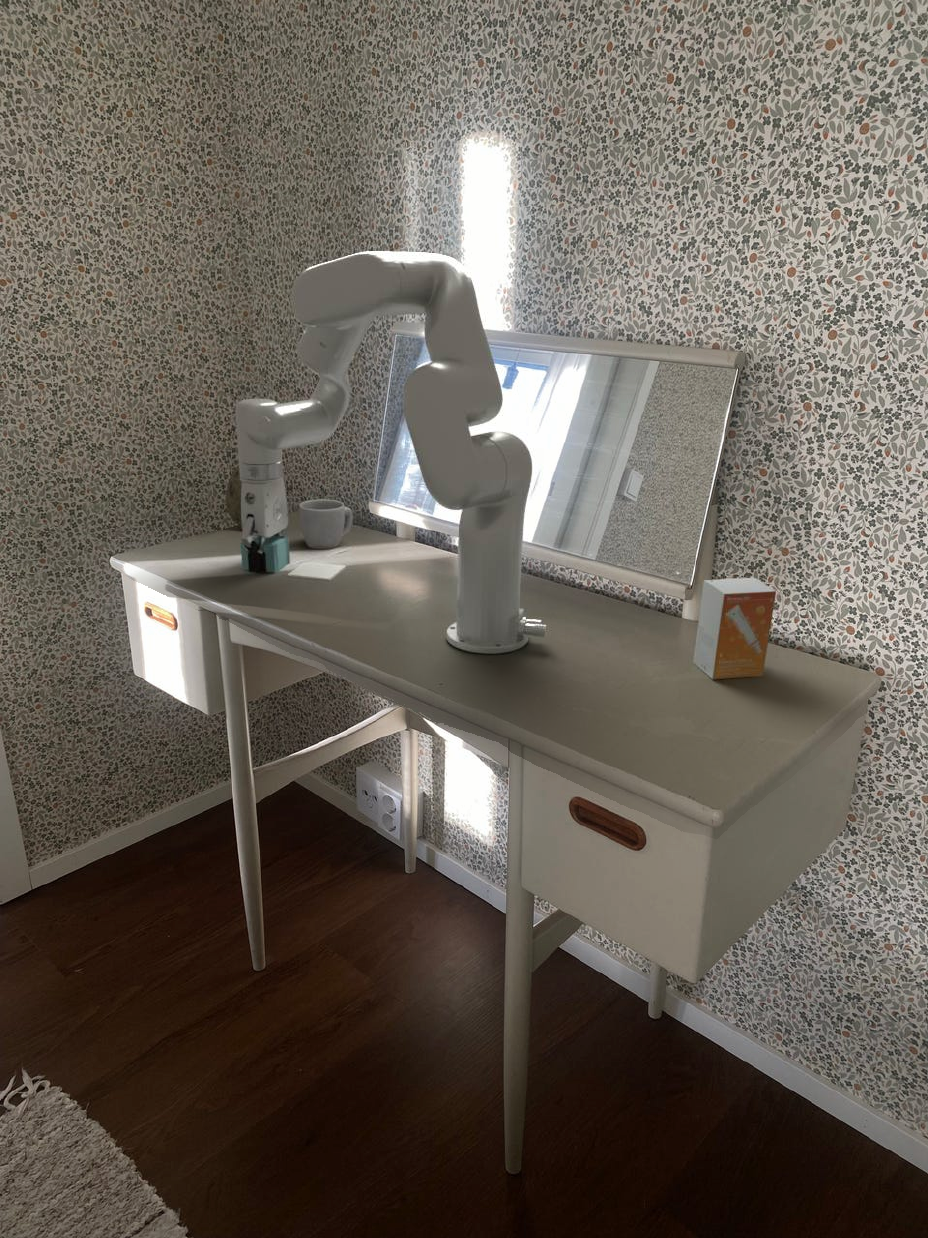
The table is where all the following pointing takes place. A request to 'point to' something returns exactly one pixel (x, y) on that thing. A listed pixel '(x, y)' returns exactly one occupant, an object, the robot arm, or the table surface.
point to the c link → (271, 553)
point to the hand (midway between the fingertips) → (266, 566)
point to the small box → (734, 627)
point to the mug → (324, 522)
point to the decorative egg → (234, 497)
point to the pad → (317, 571)
